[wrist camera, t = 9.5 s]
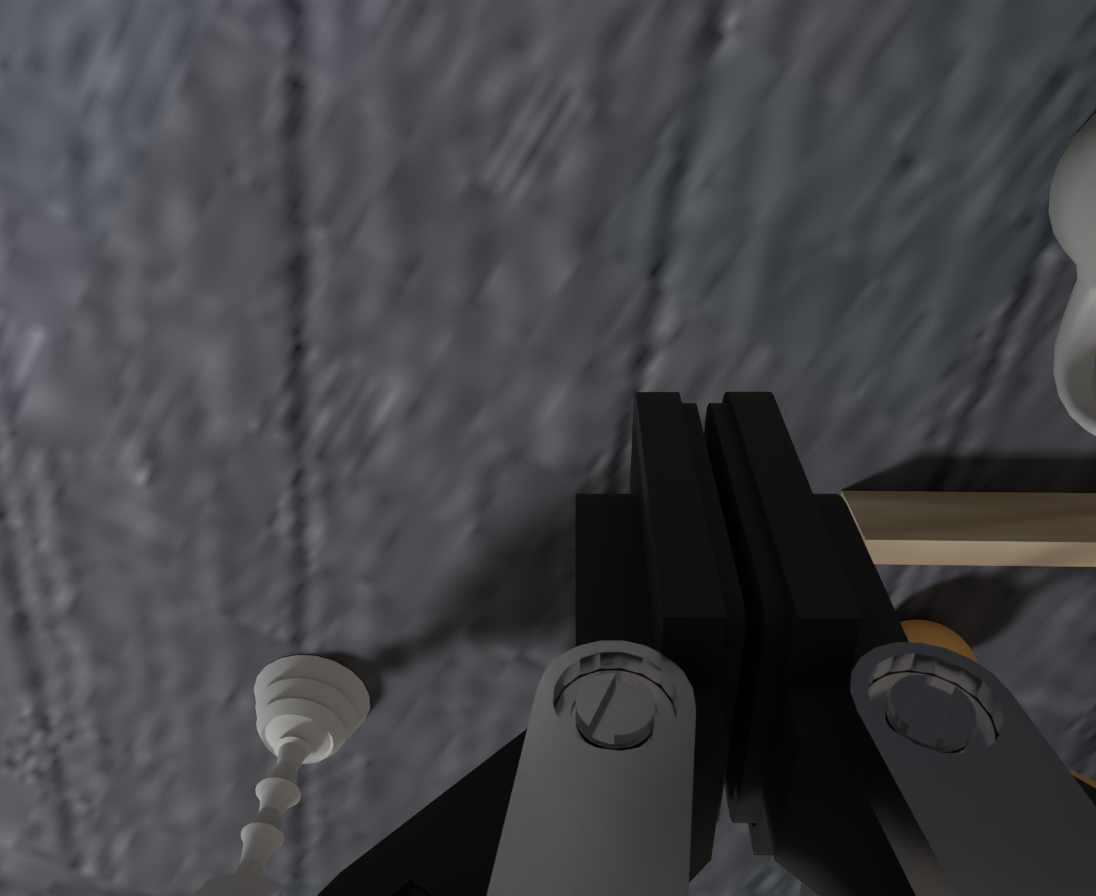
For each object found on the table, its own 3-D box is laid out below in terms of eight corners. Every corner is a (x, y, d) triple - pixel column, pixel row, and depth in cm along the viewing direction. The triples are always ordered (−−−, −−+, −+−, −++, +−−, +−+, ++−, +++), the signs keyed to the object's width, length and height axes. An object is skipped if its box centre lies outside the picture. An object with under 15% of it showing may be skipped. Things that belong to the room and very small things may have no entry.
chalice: (268, 611, 35) (13, 1147, 19) (418, 675, 36) (297, 1219, 21) (210, 719, 38) (-46, 1251, 22) (351, 774, 39) (202, 1308, 24)
